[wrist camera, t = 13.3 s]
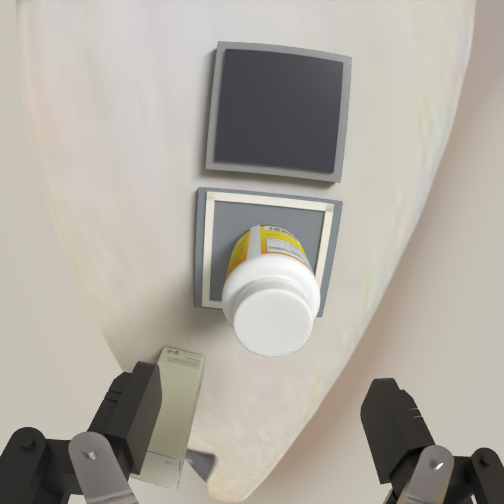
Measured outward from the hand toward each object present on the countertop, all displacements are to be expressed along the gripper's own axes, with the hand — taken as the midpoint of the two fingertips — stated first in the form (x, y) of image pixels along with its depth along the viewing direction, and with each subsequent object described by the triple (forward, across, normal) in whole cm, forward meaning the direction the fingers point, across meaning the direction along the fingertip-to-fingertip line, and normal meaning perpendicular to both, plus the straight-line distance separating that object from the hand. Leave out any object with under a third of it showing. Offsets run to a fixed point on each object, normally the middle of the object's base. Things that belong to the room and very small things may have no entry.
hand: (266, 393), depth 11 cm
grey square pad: (+15, 0, 0) cm, 15 cm away
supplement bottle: (+15, 0, 0) cm, 15 cm away
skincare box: (+16, +7, +14) cm, 22 cm away
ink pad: (+15, 0, -11) cm, 19 cm away
